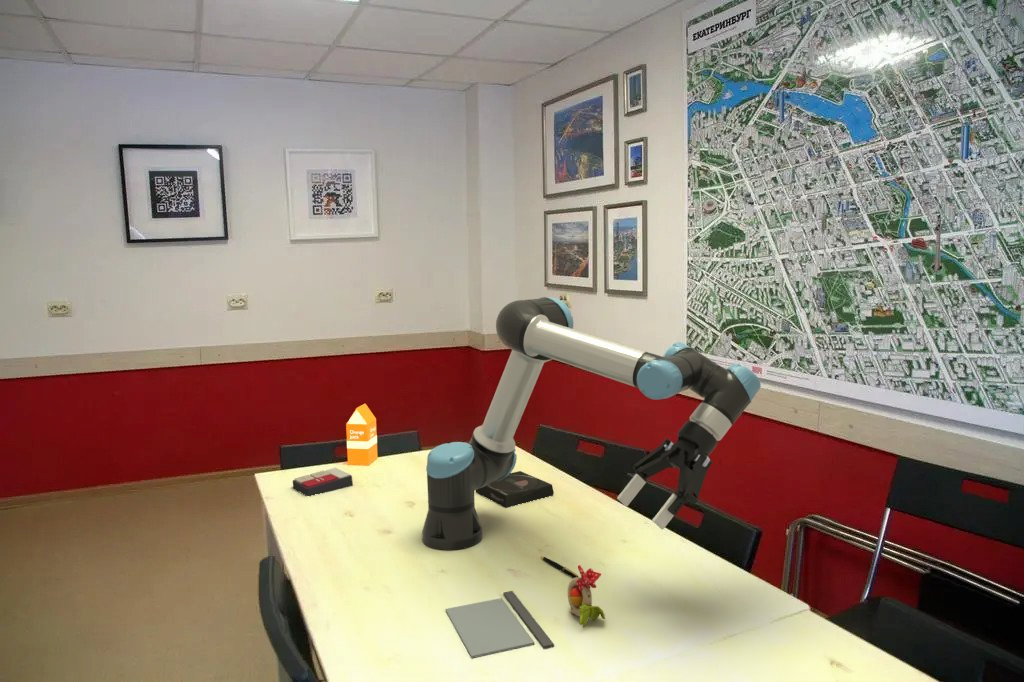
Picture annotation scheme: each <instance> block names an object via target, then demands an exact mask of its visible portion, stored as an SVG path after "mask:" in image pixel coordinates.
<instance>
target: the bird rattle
mask: <svg viewBox="0 0 1024 682" xmlns="http://www.w3.org/2000/svg"><path fill="white" fill-rule="evenodd" d="M577 570H578V572H579V574H580V576H578V577H576V578H572V579H571V580H570V582H569V583H568V586H567V602H568V605H569V607H570V609H569V610H570V613H571V614H572V615H575V616H577V617H579V625H580V626H582V627H585V626H586V625H587V622H588V620H589V619H592V620H597V619H598V618H599V617H601V619H602V620H606V615H605V613H604V610H603V609H602V608H601V607H600V606H599V605H593V599H592V598H593V597H592V595H593V594H592V591H591V588H592V589H596V588H597V585H596V581H598V580H599V578H600V577H601V576H602V573H601V572H597V571H595V570H594V569H593V568H592V567H590V568H588V569H587V570H586V571H584V568H583V567H582V566H581V565H580V564H578V565H577Z"/></svg>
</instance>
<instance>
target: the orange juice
mask: <svg viewBox="0 0 1024 682" xmlns="http://www.w3.org/2000/svg"><path fill="white" fill-rule="evenodd" d="M345 427H346V428H345V429H346V431H345V432H346V449H347V451H346V452H347V453H346V454H347V466H357V467H358V466H362V467H365V466H367V467H368V466H370V465H372V464H373V463H374V462H375V461H377V460H378V435H377V418H376V417H375V415H374V414H373V412H372V411H371V410H370V408H369V407H368V405H367V404H366V403H364V404H362V405H359V406H358V407H356V408H355V410H354V411H353V413H352V415H351V416H350V418H349V420H348V421H347V422H346V423H345Z"/></svg>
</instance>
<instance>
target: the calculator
mask: <svg viewBox="0 0 1024 682" xmlns="http://www.w3.org/2000/svg"><path fill="white" fill-rule="evenodd" d="M353 486H354V484H353V475H351V474H350V473H347V472H346V471H343V470H341V469H339V468H338V467H334V468H330V469H326V470H320V471H316V472H312V473H310V474H305V475H302V476H298V477H296V478H294V479H293V480H292V488H293V489H294V490H295V489H296V490H295V491H297V490H298V491H297V492H299V491H300V492H301V493H300V492H299V493H300V494H302V493H303V495H304V494H305V495H304V496H306V495H307V496H309V497H312V496H311V495H313V496H316V495H315V494H318V495H321V494H320V493H322V494H325V492H326V493H329V492H332V491H336V490H339V489H340V490H341V489H345V488H350V487H353ZM307 496H306V497H307Z"/></svg>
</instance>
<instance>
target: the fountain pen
mask: <svg viewBox="0 0 1024 682" xmlns="http://www.w3.org/2000/svg"><path fill="white" fill-rule="evenodd" d="M540 558H542V560H543V561H545V562H546V563H547V564H549V565H551V566H552V567H553V568H555V569H557V570H559V571H560V570H561V571H560V572H562V573H563V572H564V573H563V574H565V575H567V576H569V577H570V578H572V579H574V578H576V577H579V575H577V573H575V572H574V571H572V570H571V569H570V568H568V567H566V566H563V564H560V563H558V562H557V561H554V560H552V559H550V558H548V557H546V556H542V555H540Z"/></svg>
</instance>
